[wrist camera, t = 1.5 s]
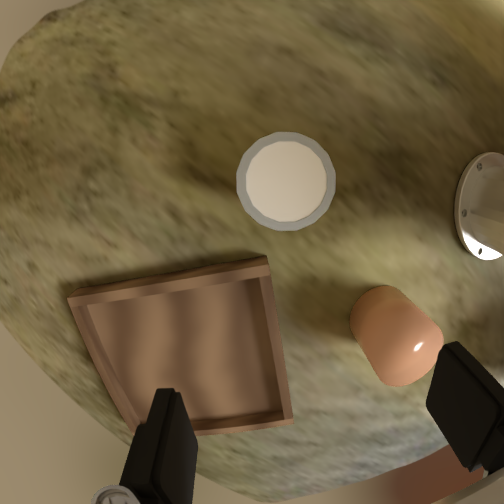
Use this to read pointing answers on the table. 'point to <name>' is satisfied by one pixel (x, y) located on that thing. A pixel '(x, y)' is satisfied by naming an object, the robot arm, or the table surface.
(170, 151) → the table surface
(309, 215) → the white tapered cup
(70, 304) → the walnut tray
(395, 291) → the peach rounded capsule
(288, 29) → the table surface
